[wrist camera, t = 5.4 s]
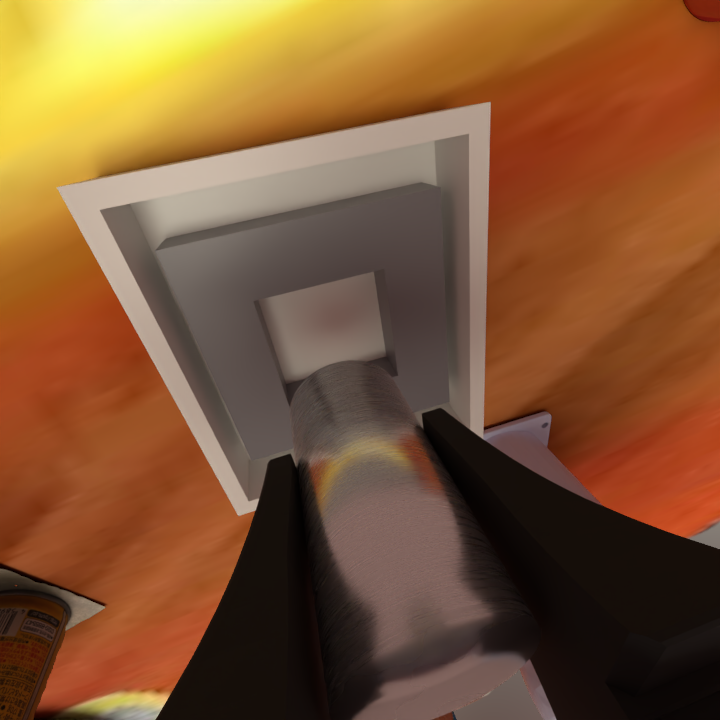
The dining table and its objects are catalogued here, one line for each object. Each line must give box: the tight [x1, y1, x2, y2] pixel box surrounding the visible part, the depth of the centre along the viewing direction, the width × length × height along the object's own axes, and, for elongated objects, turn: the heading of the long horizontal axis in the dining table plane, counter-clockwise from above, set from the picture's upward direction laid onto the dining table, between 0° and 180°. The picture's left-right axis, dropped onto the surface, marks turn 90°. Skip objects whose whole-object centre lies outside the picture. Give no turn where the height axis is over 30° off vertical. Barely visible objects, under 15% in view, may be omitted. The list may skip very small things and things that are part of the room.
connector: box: [289, 360, 541, 720], centre depth 10 cm, size 4×4×8 cm
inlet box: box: [57, 102, 491, 516], centre depth 18 cm, size 16×14×4 cm
